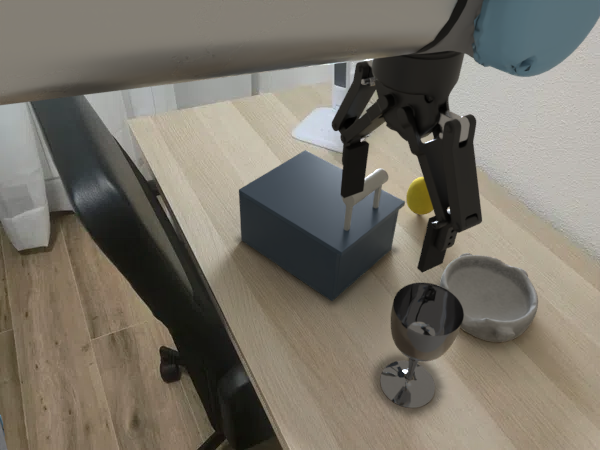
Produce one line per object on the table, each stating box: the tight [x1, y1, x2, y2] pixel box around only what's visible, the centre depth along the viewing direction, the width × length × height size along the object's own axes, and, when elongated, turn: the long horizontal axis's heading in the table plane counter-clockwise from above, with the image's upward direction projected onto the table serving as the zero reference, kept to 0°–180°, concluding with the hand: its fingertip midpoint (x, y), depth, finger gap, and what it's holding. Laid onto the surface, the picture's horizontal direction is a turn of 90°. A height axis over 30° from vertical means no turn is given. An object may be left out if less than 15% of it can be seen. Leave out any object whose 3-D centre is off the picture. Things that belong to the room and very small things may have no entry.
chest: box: [238, 193, 400, 302], centre depth 89 cm, size 20×16×10 cm
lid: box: [238, 149, 406, 256], centre depth 83 cm, size 20×16×8 cm
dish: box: [439, 252, 539, 343], centre depth 81 cm, size 14×14×5 cm
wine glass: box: [379, 282, 464, 409], centre depth 67 cm, size 8×8×15 cm
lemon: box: [405, 176, 434, 216], centre depth 96 cm, size 6×6×8 cm
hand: (388, 227), depth 59 cm, fingers open, 13 cm apart
